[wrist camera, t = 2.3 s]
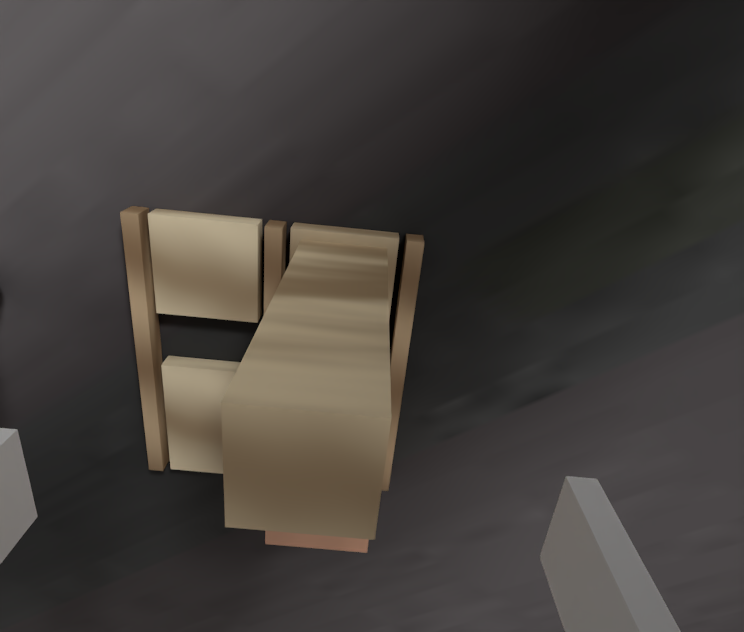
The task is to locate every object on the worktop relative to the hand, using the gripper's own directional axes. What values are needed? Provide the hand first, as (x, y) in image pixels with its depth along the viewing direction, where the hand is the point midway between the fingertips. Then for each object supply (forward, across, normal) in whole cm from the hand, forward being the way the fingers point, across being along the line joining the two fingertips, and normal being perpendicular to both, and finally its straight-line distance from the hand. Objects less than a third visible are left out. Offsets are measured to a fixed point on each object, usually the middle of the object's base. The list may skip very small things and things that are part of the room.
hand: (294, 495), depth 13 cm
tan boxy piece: (+14, 0, -4) cm, 15 cm away
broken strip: (+14, -6, -4) cm, 16 cm away
